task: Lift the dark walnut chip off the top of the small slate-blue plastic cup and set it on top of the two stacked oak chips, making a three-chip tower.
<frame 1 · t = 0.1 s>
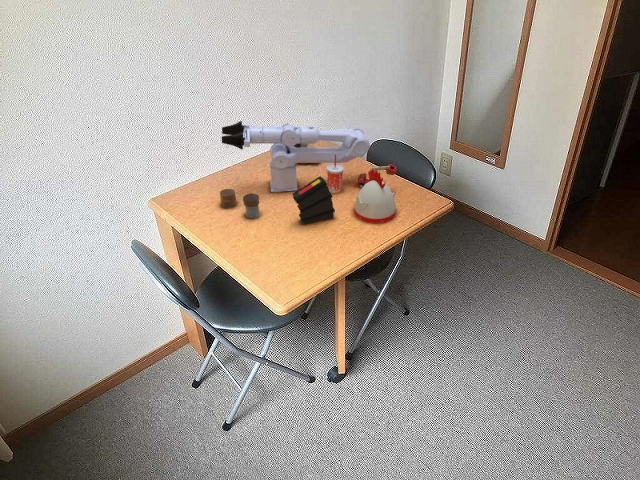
hand: (221, 135, 164), 22 cm above the table, tool horizontal, fingers open, 7 cm apart
beverage cup: (334, 190, 177), on the table, touching arm
oak chip bottom: (229, 204, 169), on the table, touching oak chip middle
kitchen timer: (374, 212, 165), on the table
walnut chip: (251, 203, 161), point 4 cm above the table, touching plastic cup
plastic cup: (252, 214, 163), on the table, touching walnut chip
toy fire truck: (375, 188, 178), on the table
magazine: (313, 220, 161), on the table
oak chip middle: (228, 198, 168), point 2 cm above the table, touching oak chip bottom
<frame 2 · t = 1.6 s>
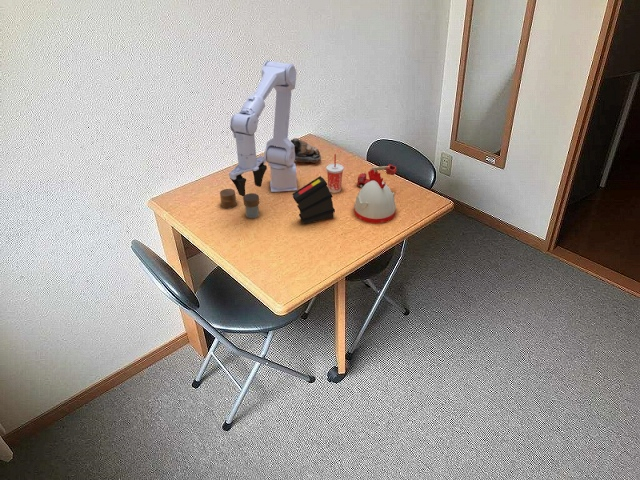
hand: (250, 190, 158), 9 cm above the table, tool pointing down, fingers open, 7 cm apart
beverage cup: (334, 190, 177), on the table
everything else where it was.
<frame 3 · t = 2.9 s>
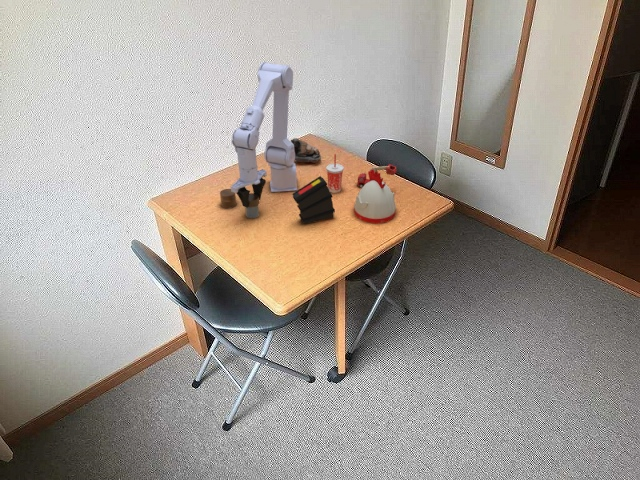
hand: (251, 202, 161), 5 cm above the table, tool pointing down, fingers closed on walnut chip, 5 cm apart
walnut chip: (251, 203, 161), point 4 cm above the table, touching gripper, plastic cup
everything else where it was.
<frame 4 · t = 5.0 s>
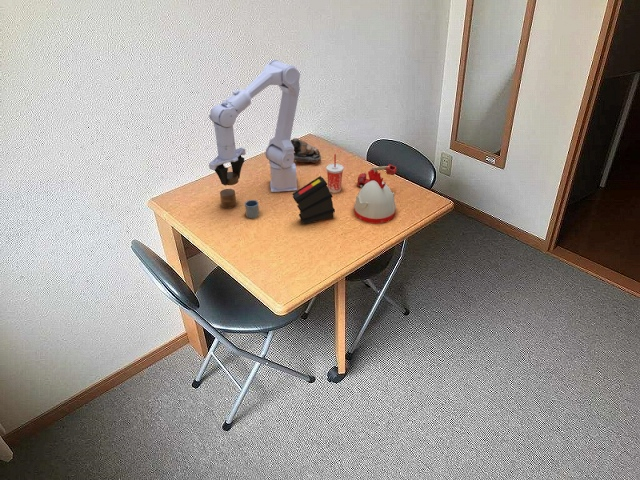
hand: (230, 181, 162), 10 cm above the table, tool pointing down, fingers closed on walnut chip, 5 cm apart
walnut chip: (230, 181, 162), point 10 cm above the table, touching gripper
plastic cup: (252, 214, 163), on the table
everything else where it was.
when the fingers open (5 cm above the table, at t = 7.0 s): walnut chip stays where it is, resting on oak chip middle.
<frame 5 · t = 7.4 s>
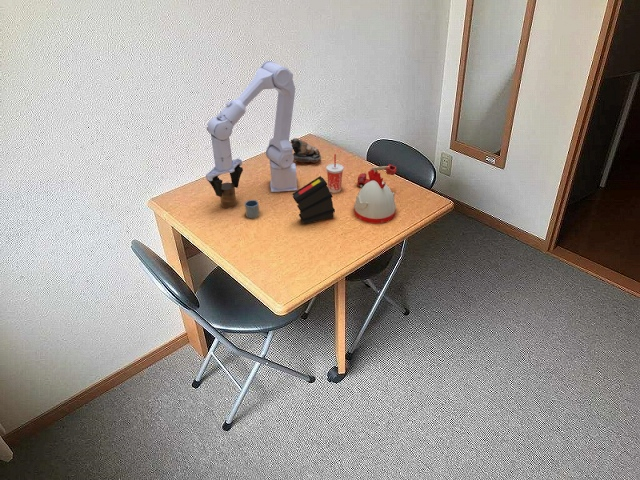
hand: (227, 191, 166), 5 cm above the table, tool pointing down, fingers open, 7 cm apart
walnut chip: (227, 192, 166), point 5 cm above the table, touching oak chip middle
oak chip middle: (228, 198, 168), point 2 cm above the table, touching oak chip bottom, walnut chip
everything else where it was.
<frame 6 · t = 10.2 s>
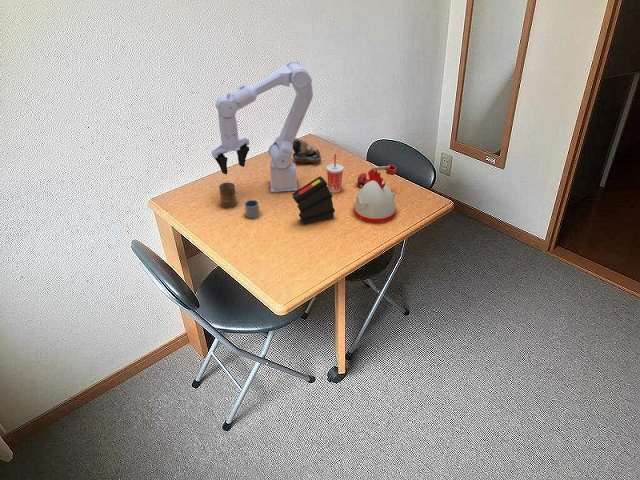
hand: (233, 169, 170), 10 cm above the table, tool pointing down, fingers open, 7 cm apart
nothing on the table moved.
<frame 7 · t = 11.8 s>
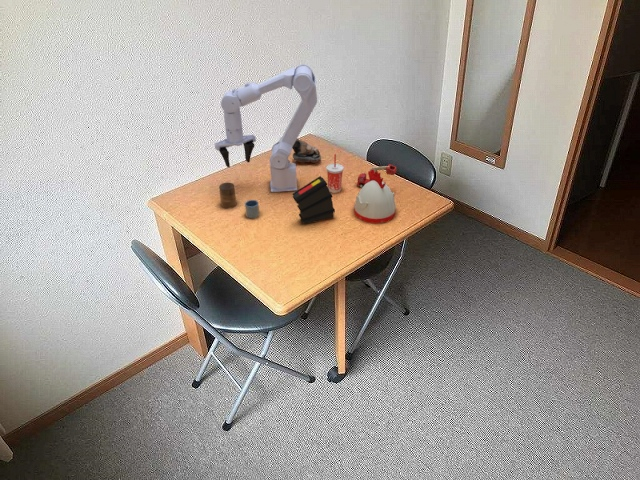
hand: (237, 163, 174), 9 cm above the table, tool pointing down, fingers open, 7 cm apart
nothing on the table moved.
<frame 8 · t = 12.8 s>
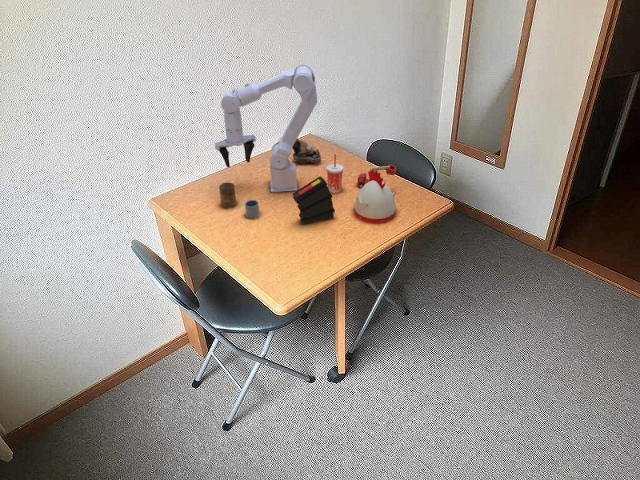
hand: (237, 163, 174), 9 cm above the table, tool pointing down, fingers open, 7 cm apart
nothing on the table moved.
at the end: walnut chip 0.0 cm off-centre on the oak chip bottom, point 4.8 cm above the oak chip bottom's base; walnut chip tilted 0°; the gripper is holding nothing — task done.
